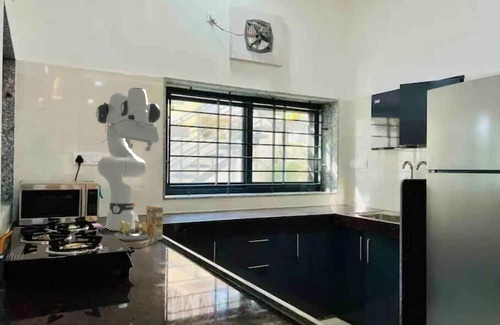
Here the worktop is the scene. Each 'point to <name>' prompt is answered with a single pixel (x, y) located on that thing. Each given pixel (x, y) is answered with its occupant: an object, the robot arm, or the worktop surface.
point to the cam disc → (132, 232)
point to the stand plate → (141, 242)
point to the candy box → (154, 221)
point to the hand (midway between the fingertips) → (139, 149)
